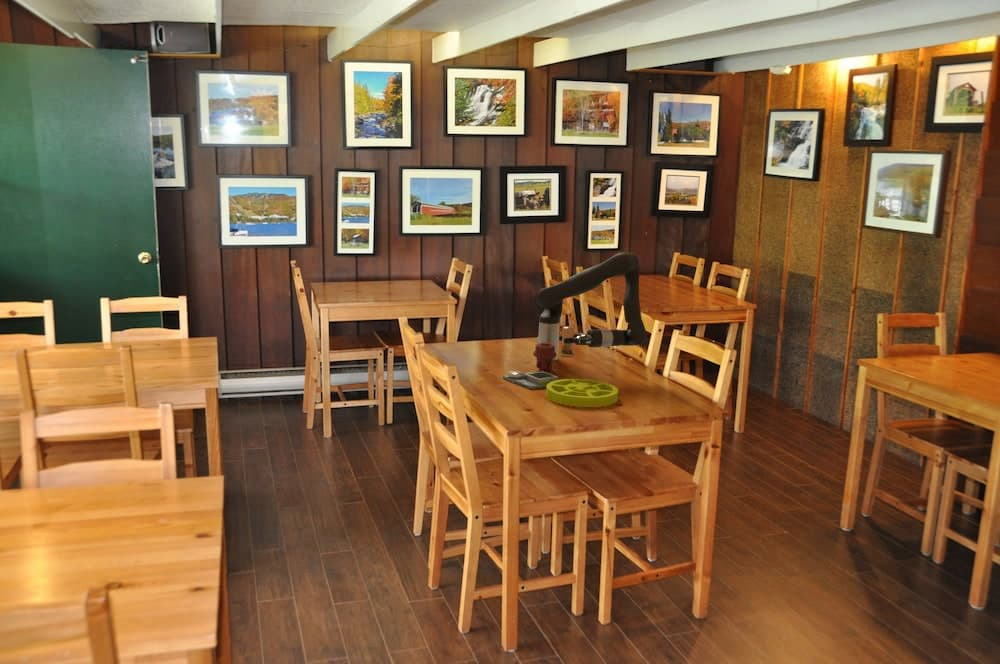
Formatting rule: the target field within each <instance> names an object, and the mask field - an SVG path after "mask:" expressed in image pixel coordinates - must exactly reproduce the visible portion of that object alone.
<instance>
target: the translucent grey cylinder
mask: <svg viewBox="0 0 1000 664" xmlns="http://www.w3.org/2000/svg"><path fill="white" fill-rule="evenodd" d="M561 333H562V334H561V335H562V341H561V349H560V350H561V351H560V352H559V357H560V358H570V359H571V358H574V357H575V352H574V344H573V343H569V344H565V343H564V338H574V333H575V327H574V326H569V325H566V326H562V332H561Z"/></svg>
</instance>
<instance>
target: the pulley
mask: <svg viewBox="0 0 1000 664" xmlns="http://www.w3.org/2000/svg"><path fill="white" fill-rule="evenodd" d="M545 391H546V392H545V398H546V399H547V398H548V399H547V400H549V401H550V400H551V401H550V402H552V401H553V403H555V402H556V403H555V404H558V403H560V404H559V405H561V404H564V405H563V406H566V405H569V406H568V407H572V406H576V407H575V408H583V407H596V408H602V407H601V406H605V407H607V406H606V405H610V406H612V405H611V404H613V403H615V402H616V401H617V402H618V401H619V400H618V395H619V388H618V387H616V386H615V385H613V384H610V383H607V382H604V381H600V380H599V381H598V380H594V379H586V378H584V379H583V378H568V379H567V378H566V379H565V378H564V379H558V380H556V381H553V382H550V383H548V384H547V386H546V388H545ZM617 402H616V403H617ZM616 403H615V404H616ZM613 405H614V404H613Z"/></svg>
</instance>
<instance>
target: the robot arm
mask: <svg viewBox="0 0 1000 664" xmlns="http://www.w3.org/2000/svg"><path fill="white" fill-rule="evenodd" d="M620 275H621V276H622V275H624V279H625V280H624V281H625V290H624V291H625V292H624V297H623V302H622V303H623V304H622V306H623V313H624V314H623V315H624V316H623V317H624V320H625V322H626V324H628V326H629V328H630V329H615V328H614V329H607V328H600V329H598V328H597V329H594V328H593V329H588V330H587V332H586V334H585V332H584V333H583V332H574V338H564V343H565V344H569V343H573V345H576V346H587V347H589V348H592V349H593V348H608V347H620V346H625V347H633V346H641V345H644V343H645V342H646V340H647V330H646V327H645V326H646V325H645V324H644V321H643V319H642V310H641V304H640V303H641V302H640V260H639V257H638V256H637V255H636V254H635V253H633V252H619V253H617V254H615V255H613V256H612V257H610V258H608V259H607V260H604V261H603V262H600V263H599V264H596V265H593V266H592V267H589V268H585V269H584V270H581V271H580V272H578V273H575V274H573V275H572V276H570V277H567V278H566V279H564V280H563V281H561V282H559V283H556V284H555V285H551V286H548V287H544V288H542V289H540V290H539V291H538V292H537V294H536V297H535V298H536V303H537V304H538V305H539V306H540V307H541V308H542V309H543V308H544V310H543V312H541V314H540V315H539V320H538V336H537V338H536V344H540V343H541V342H548V343H550V344H553V345H555V352H556V357H555V358H553V362H554V361H557V360H558V357H559V356H558V354H559V341H560V342H562V334H559V333H560V321H561V317H562V313H563V303H564V300H565V299H568V298H572V297H576V296H579V295H582V294H585V293H588V292H590V291H593V290H595V289H596V288H599V286H600V285H602V284H603V283H604V282H605V281H607V280H609V279H611V278H614V277H616V276H620Z"/></svg>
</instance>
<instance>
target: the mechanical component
mask: <svg viewBox="0 0 1000 664" xmlns="http://www.w3.org/2000/svg"><path fill="white" fill-rule="evenodd" d="M533 356H534V357H535V358H536V365H535V367H536V368H537V369H538V372H542V371H545V372H552V371H553V362H554V361H553V358H555V357H556V352H555V345H553V344H550V343H548V342H541V343H540V344H537V343H536V344H535V350H534V351H533Z"/></svg>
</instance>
